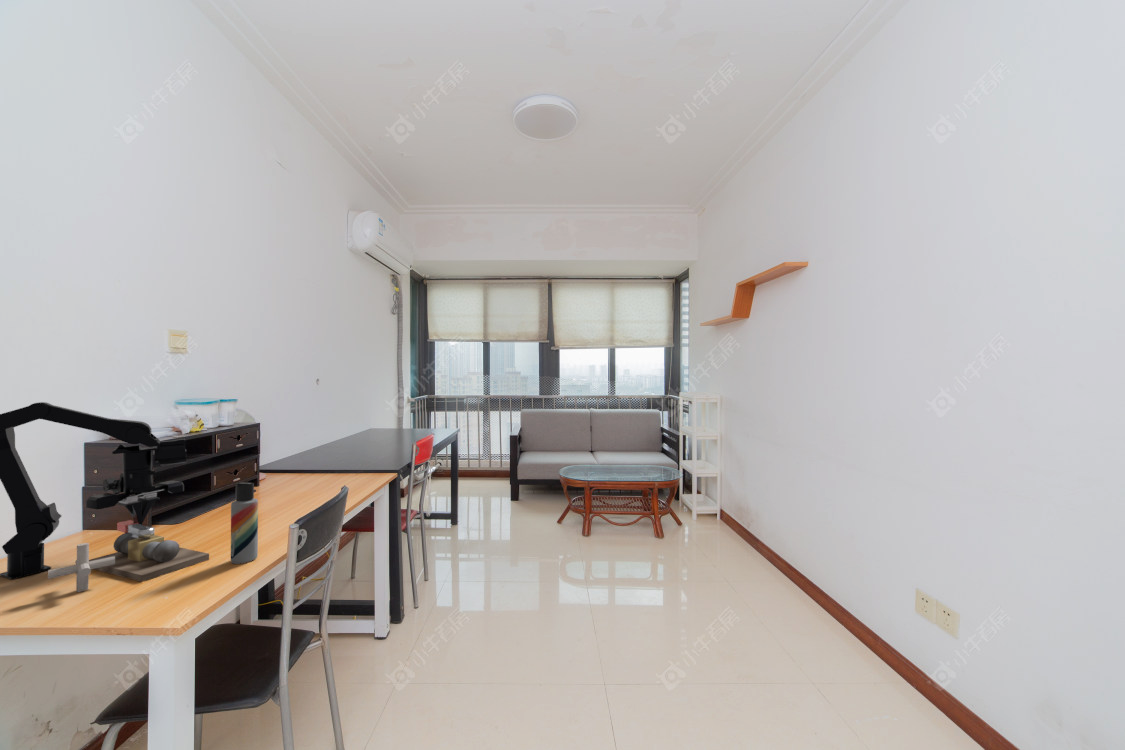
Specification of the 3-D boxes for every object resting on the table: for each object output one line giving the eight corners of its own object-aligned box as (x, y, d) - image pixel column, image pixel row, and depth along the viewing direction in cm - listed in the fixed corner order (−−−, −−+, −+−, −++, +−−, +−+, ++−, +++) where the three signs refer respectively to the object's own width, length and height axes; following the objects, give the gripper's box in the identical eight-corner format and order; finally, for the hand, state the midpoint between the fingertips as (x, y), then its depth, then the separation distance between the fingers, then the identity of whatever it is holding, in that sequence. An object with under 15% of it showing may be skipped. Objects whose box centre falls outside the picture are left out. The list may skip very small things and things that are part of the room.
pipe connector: (111, 576, 105) (112, 533, 106) (117, 588, 99) (117, 543, 99) (46, 591, 98) (47, 545, 98) (48, 605, 91) (49, 556, 92)
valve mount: (85, 566, 111) (85, 540, 111) (153, 547, 124) (154, 524, 124) (141, 581, 102) (142, 553, 102) (209, 559, 115) (209, 534, 115)
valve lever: (156, 535, 114) (156, 527, 114) (141, 539, 112) (141, 531, 112) (131, 527, 121) (131, 519, 121) (116, 530, 119) (116, 522, 119)
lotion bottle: (225, 562, 113) (225, 483, 113) (247, 554, 118) (248, 479, 119) (240, 565, 111) (241, 485, 112) (262, 557, 116) (263, 480, 117)
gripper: (162, 460, 132) (163, 512, 132) (74, 473, 115) (76, 533, 115) (184, 462, 128) (185, 516, 128) (97, 476, 111) (98, 539, 111)
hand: (139, 525), depth 121 cm, fingers closed
